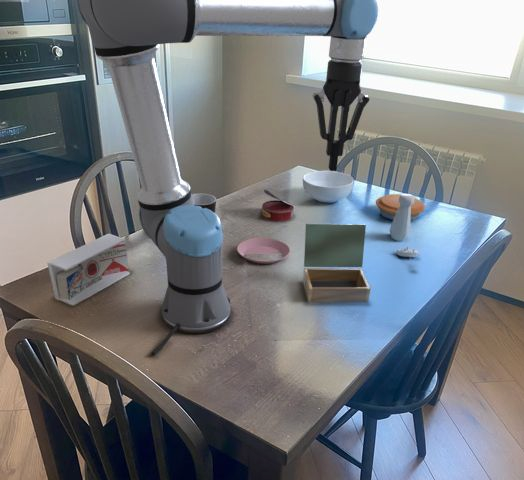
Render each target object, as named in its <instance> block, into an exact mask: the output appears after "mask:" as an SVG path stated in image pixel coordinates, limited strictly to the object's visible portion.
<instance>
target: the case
mask: <svg viewBox="0 0 524 480" xmlns="http://www.w3.org/2000/svg"><path fill="white" fill-rule="evenodd" d="M302 274H303V275H302V284H303V288H304V292H305V296H306V299H307V302H308V303H369V300H370V295H371V287H370V285H369V281H368V280H367V278H366V275H365V272H364V271H363V269H362V268H308V267H304V268H303V273H302ZM310 281H356V284H357V286H358V287H312V285H311V282H310Z"/></svg>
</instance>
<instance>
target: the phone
mask: <svg viewBox="0 0 524 480" xmlns="http://www.w3.org/2000/svg"><path fill="white" fill-rule="evenodd" d="M310 282H311V285H312V287H358V286H357V284H356V281H310Z"/></svg>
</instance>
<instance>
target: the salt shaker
mask: <svg viewBox="0 0 524 480" xmlns="http://www.w3.org/2000/svg"><path fill="white" fill-rule="evenodd" d="M414 198H415V197H414V195H412V194H410V193H402V194H400V196H399V199H398V202H399V203H400V205H399V208H398V210H397V213H396V215H395V218H394V220H392V223H391V225H390V227H389V233H390V237H391V239H392V240H394V241H396V242H403V241H405V240H406V239H407V238H408V237H409V235H410V233H411V221H410V219H411V205H412V204H413V203H414Z"/></svg>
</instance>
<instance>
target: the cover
mask: <svg viewBox="0 0 524 480" xmlns="http://www.w3.org/2000/svg"><path fill="white" fill-rule="evenodd" d="M366 227H367V224H366V223H305V236H304V255H303V256H304V257H303V267H304V268H363V261H364V251H365V242H366V241H365V240H366V239H365V238H366V229H367V228H366Z"/></svg>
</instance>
